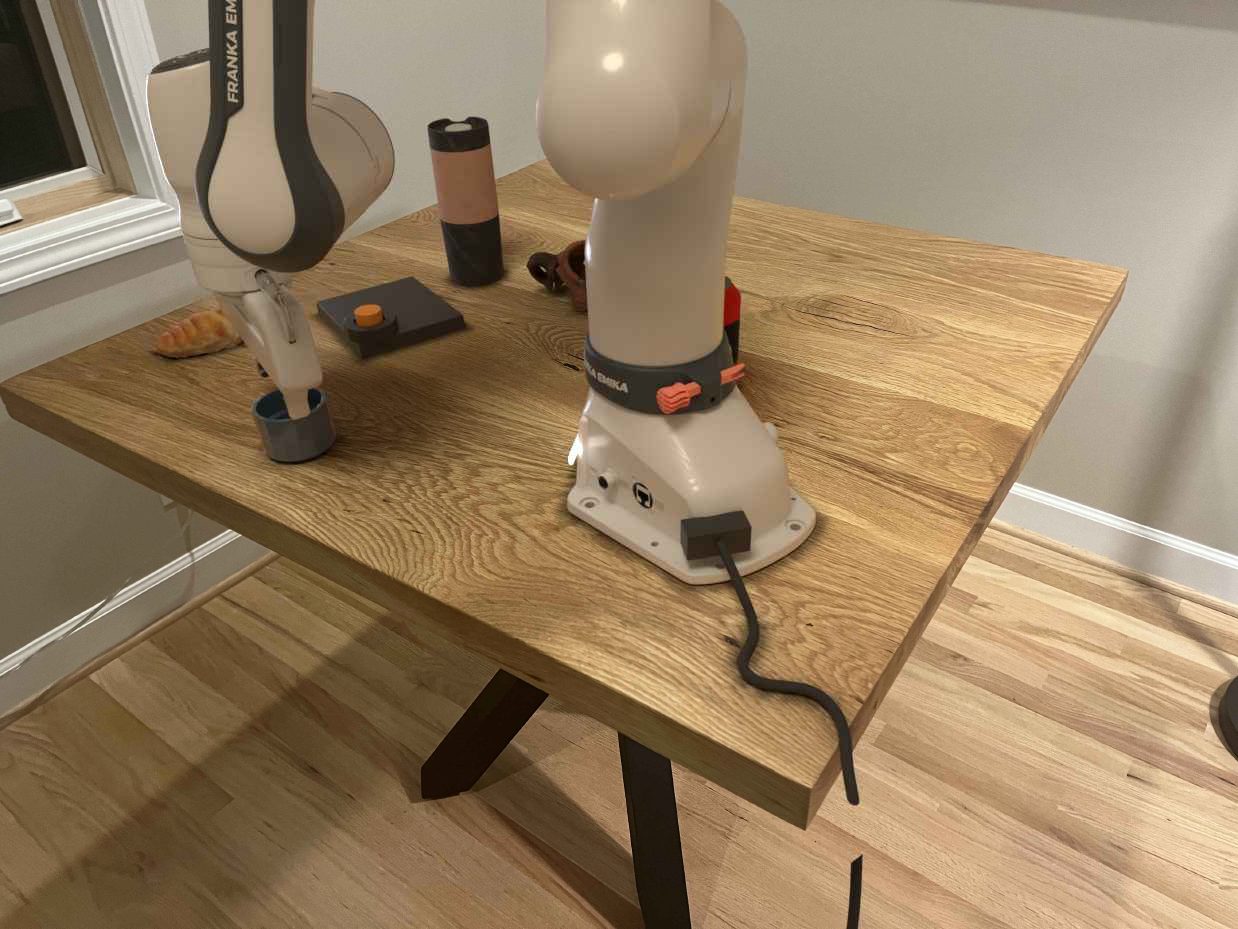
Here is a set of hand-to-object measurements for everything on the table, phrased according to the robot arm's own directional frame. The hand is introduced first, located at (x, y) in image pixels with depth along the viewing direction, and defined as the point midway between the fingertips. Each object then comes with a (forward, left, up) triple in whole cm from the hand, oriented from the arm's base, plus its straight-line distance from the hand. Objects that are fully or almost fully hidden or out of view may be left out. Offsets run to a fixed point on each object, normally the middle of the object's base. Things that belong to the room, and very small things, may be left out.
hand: (283, 393), depth 85 cm
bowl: (0, 0, -6) cm, 6 cm away
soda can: (-15, -38, -6) cm, 42 cm away
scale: (+21, -18, -6) cm, 28 cm away
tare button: (+16, -14, -3) cm, 21 cm away
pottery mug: (+13, -40, -6) cm, 43 cm away
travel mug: (+27, -33, -6) cm, 43 cm away
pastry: (+29, +2, -6) cm, 29 cm away
